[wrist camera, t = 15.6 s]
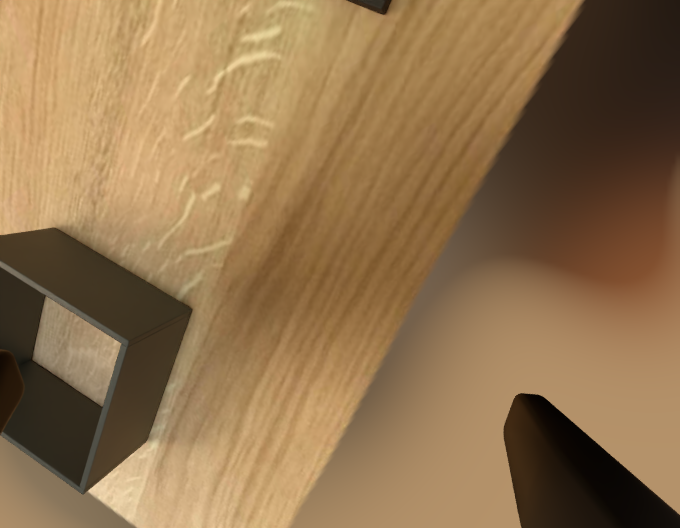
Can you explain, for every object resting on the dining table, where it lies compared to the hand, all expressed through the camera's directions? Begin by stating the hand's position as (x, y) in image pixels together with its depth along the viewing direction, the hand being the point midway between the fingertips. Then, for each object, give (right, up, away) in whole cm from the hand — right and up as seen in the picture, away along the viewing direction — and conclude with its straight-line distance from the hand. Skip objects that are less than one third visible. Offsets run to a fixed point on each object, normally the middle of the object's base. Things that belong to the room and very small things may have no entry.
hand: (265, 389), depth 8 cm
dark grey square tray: (-11, -2, +15) cm, 18 cm away
